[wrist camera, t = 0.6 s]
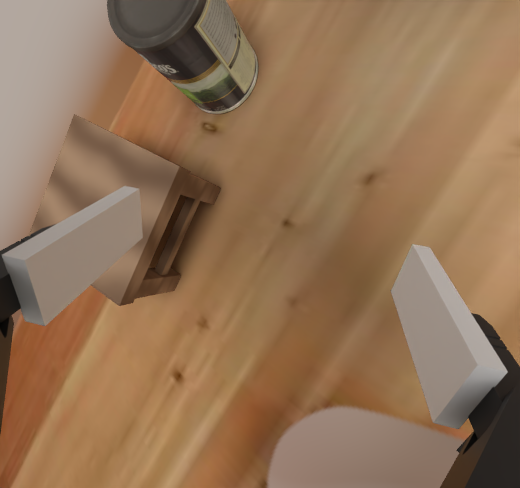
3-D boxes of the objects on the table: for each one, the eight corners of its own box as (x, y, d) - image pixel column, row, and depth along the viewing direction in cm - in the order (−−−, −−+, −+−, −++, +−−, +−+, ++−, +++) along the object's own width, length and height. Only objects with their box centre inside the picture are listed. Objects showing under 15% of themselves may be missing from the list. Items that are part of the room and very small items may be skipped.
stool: (136, 143, 44) (74, 114, 35) (223, 186, 39) (179, 166, 30) (96, 241, 46) (27, 238, 37) (175, 293, 41) (119, 305, 32)
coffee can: (223, 130, 40) (151, 69, 26) (175, 86, 42) (88, 10, 29) (275, 64, 37) (227, -39, 24) (222, 21, 40) (151, -93, 27)
